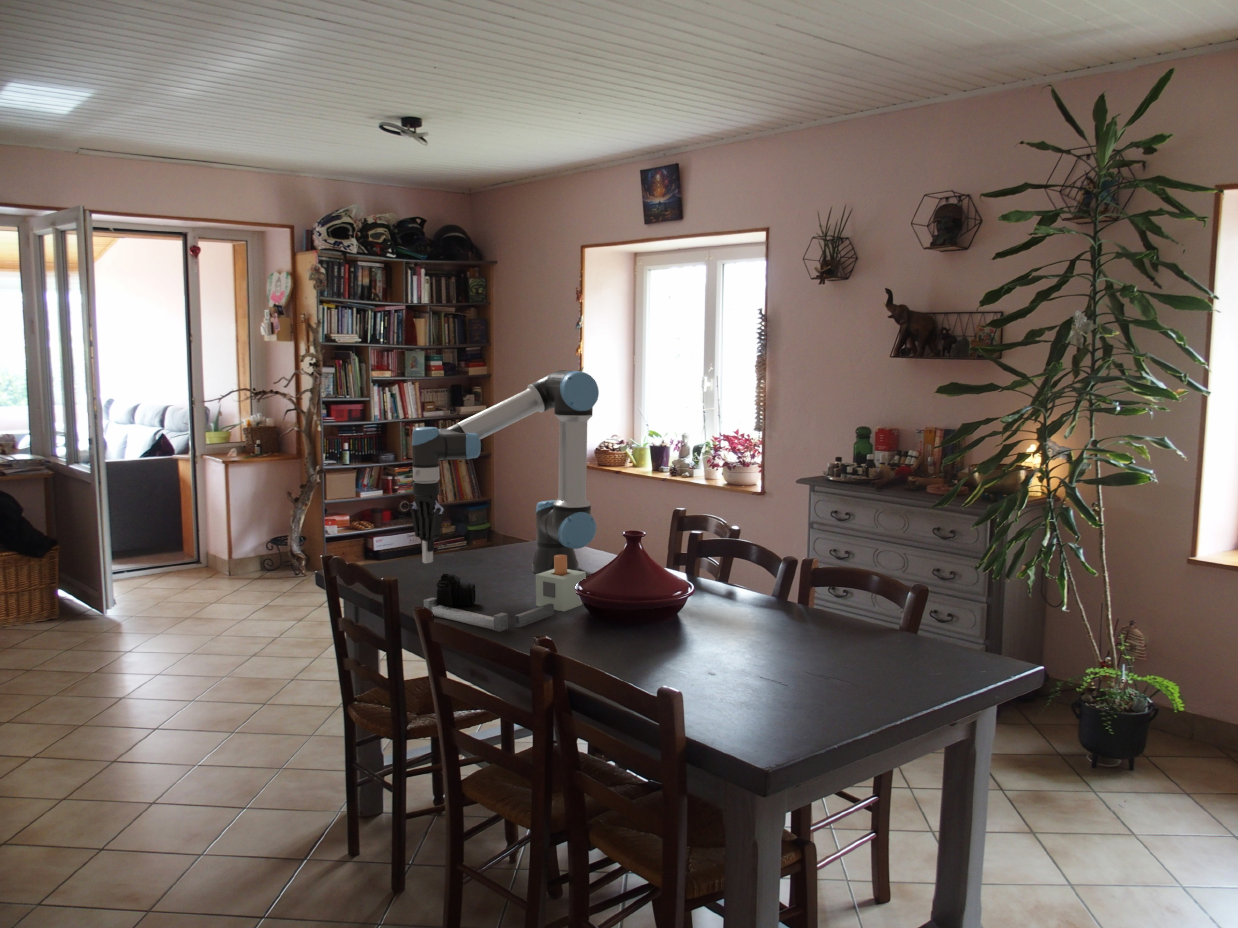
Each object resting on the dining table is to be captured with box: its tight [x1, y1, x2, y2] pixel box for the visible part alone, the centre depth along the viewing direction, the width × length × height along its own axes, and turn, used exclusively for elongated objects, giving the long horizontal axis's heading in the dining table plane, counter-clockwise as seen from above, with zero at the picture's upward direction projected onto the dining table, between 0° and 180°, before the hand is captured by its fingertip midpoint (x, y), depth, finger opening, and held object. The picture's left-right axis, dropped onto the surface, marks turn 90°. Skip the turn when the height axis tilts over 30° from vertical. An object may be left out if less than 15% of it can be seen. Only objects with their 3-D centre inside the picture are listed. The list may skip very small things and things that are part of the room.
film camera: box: [435, 573, 477, 608], centre depth 266 cm, size 15×10×9 cm, turn 178°
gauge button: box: [554, 555, 567, 576], centre depth 265 cm, size 4×4×6 cm
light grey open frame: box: [423, 597, 555, 633], centre depth 257 cm, size 20×30×4 cm, turn 54°
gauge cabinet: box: [535, 569, 587, 612], centre depth 266 cm, size 10×10×9 cm
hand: (427, 562), depth 273 cm, fingers closed
